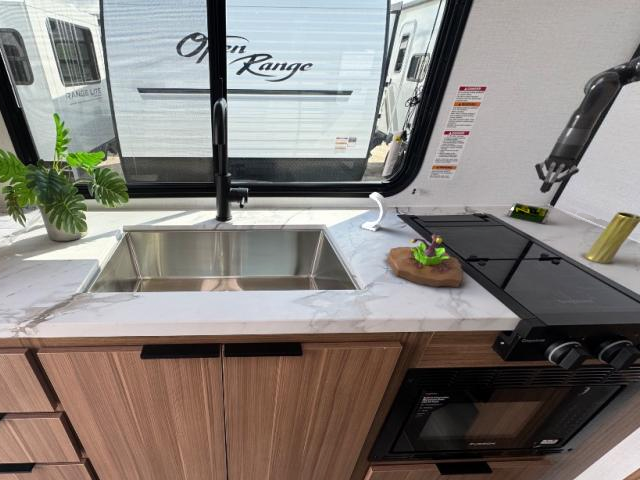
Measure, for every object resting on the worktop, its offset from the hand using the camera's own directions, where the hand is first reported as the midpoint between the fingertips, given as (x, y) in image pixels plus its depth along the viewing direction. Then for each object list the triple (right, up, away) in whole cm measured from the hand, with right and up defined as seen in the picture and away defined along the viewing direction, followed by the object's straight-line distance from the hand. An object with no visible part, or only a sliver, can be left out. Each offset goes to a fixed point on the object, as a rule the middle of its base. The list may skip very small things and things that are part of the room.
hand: (543, 192), depth 122 cm
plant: (-61, -32, -27) cm, 74 cm away
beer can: (+3, -9, +2) cm, 10 cm away
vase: (-2, -28, -20) cm, 35 cm away
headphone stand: (-66, -14, -3) cm, 68 cm away
